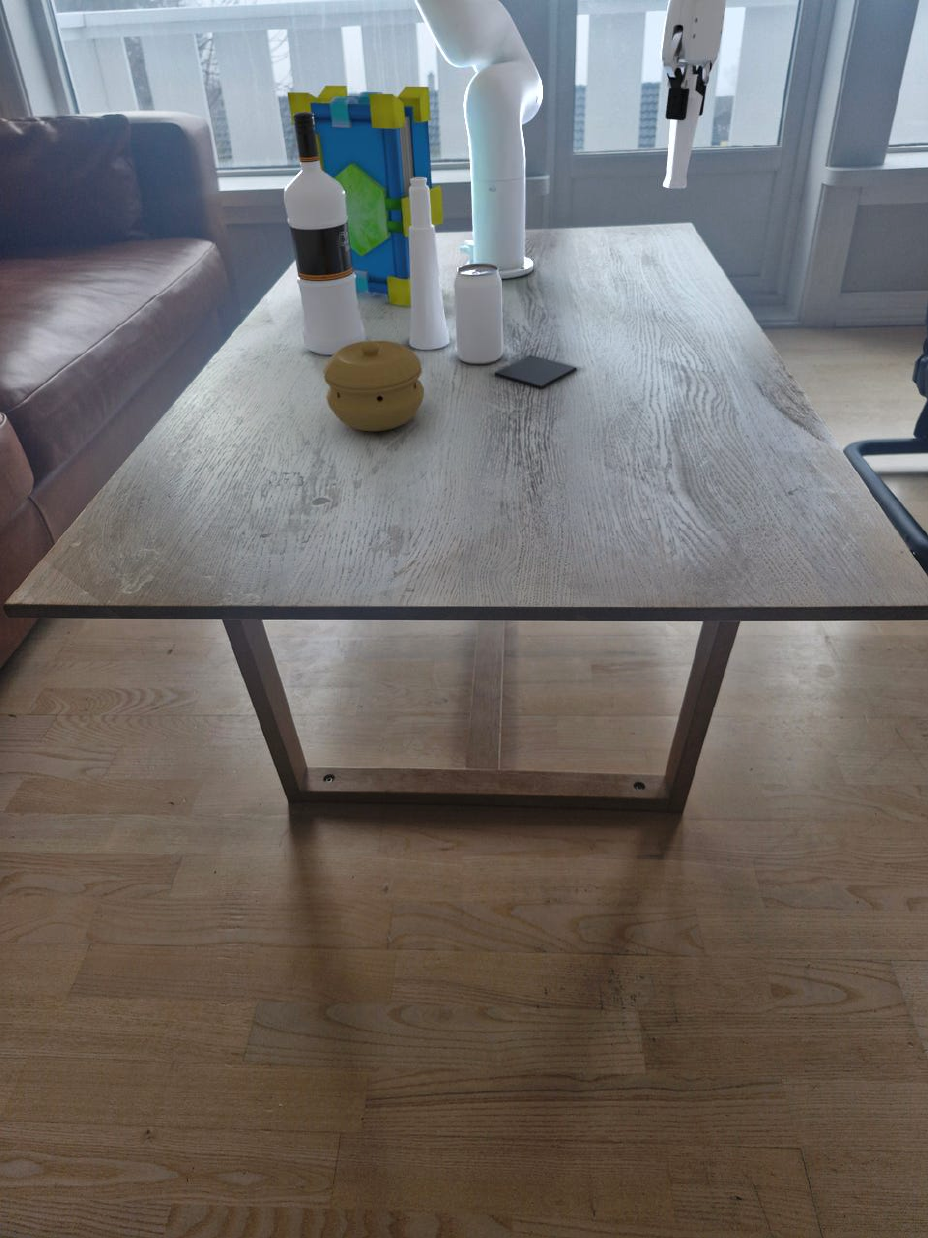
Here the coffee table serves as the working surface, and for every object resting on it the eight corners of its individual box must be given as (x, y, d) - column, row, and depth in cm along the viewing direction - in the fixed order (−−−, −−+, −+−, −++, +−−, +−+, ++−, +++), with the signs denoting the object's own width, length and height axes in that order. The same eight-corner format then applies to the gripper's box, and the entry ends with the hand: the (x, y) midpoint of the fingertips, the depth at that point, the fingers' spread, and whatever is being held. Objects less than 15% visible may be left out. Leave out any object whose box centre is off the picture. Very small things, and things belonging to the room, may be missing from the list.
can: (508, 350, 115) (507, 263, 108) (494, 367, 111) (493, 276, 103) (466, 347, 117) (462, 261, 110) (451, 363, 112) (446, 274, 105)
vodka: (300, 340, 122) (260, 111, 104) (358, 331, 125) (330, 105, 106) (312, 360, 115) (272, 118, 97) (373, 350, 118) (346, 112, 99)
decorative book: (407, 311, 132) (388, 95, 113) (301, 294, 142) (269, 93, 123) (453, 287, 141) (443, 84, 122) (351, 273, 151) (328, 83, 132)
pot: (354, 399, 104) (344, 321, 98) (439, 407, 101) (434, 327, 95) (314, 437, 95) (300, 355, 89) (406, 447, 92) (398, 363, 86)
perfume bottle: (687, 184, 130) (704, 73, 121) (691, 188, 127) (708, 75, 118) (659, 183, 130) (673, 73, 121) (662, 188, 127) (677, 75, 118)
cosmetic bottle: (402, 348, 118) (387, 181, 104) (419, 334, 122) (407, 173, 109) (439, 351, 116) (429, 183, 102) (455, 338, 120) (447, 174, 107)
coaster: (494, 375, 108) (494, 372, 108) (530, 357, 113) (530, 354, 113) (541, 388, 104) (541, 385, 104) (576, 369, 109) (576, 367, 108)
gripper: (707, -36, 118) (688, 109, 129) (648, -35, 108) (633, 122, 120) (755, -38, 114) (731, 112, 126) (698, -37, 104) (678, 125, 116)
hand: (684, 115), depth 122 cm, fingers closed on perfume bottle, 4 cm apart
